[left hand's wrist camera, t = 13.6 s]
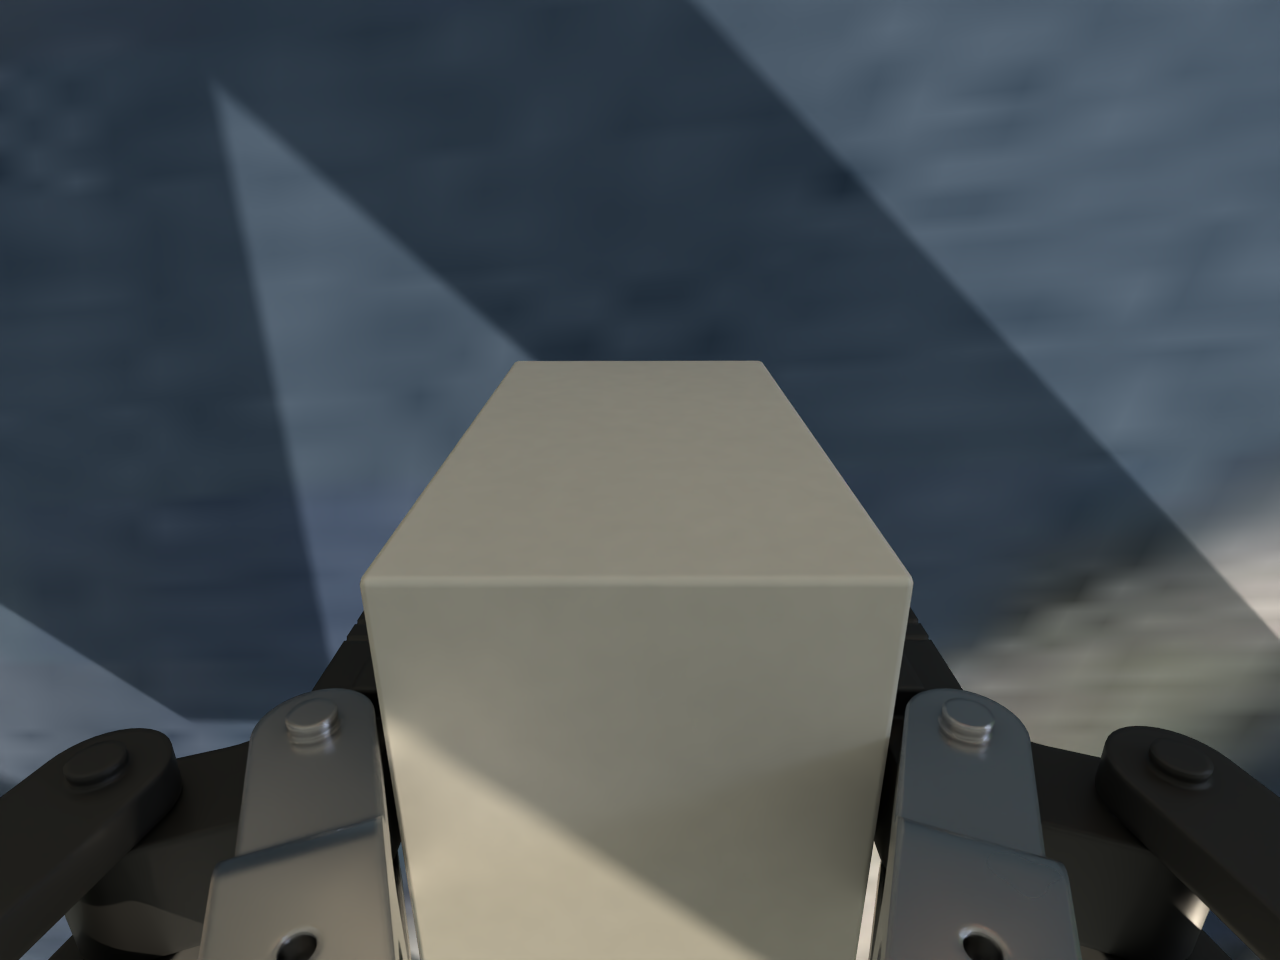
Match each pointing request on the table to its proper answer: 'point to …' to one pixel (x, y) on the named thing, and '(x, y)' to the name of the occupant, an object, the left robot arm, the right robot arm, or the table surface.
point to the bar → (637, 674)
